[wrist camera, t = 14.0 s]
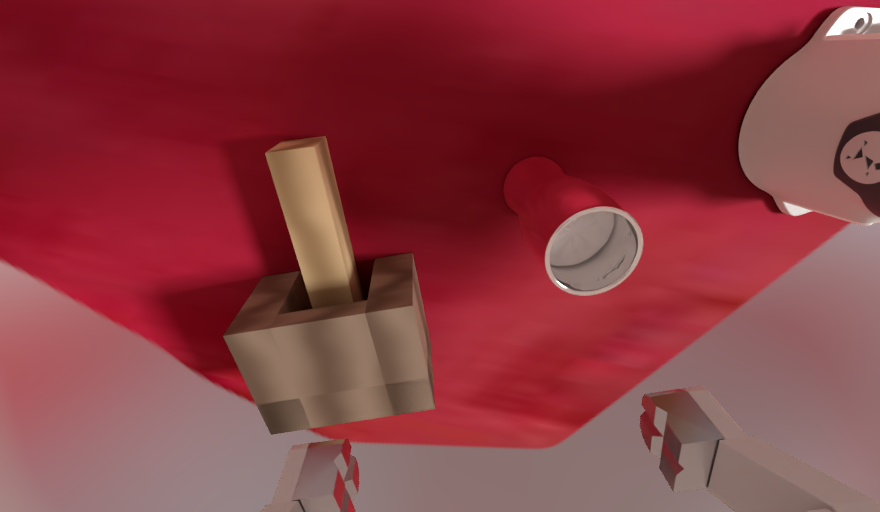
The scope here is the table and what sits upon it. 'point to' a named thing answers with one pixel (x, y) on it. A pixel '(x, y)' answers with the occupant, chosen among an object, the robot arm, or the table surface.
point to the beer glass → (572, 227)
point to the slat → (315, 220)
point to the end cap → (335, 350)
